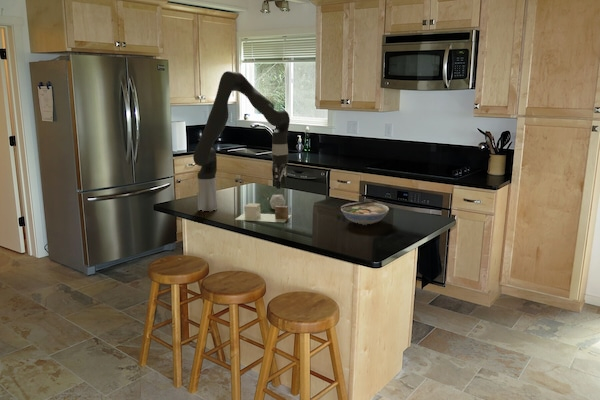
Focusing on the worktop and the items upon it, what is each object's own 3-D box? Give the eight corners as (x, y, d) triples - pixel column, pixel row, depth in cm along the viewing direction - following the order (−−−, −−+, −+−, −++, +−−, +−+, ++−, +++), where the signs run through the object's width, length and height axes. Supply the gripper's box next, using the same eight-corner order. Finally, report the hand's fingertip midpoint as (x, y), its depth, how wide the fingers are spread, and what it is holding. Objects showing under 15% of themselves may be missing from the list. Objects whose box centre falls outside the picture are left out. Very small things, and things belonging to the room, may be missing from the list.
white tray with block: (234, 220, 253) (234, 207, 251) (244, 213, 265) (243, 201, 264) (283, 223, 247) (283, 210, 245) (291, 216, 259) (291, 203, 257)
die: (279, 213, 268) (289, 197, 269) (265, 205, 268) (275, 189, 269) (280, 215, 276) (289, 199, 277) (266, 207, 276) (275, 191, 277)
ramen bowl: (358, 233, 230) (358, 215, 228) (328, 221, 249) (328, 205, 247) (400, 224, 243) (401, 207, 241) (369, 213, 262) (369, 198, 260)
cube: (245, 218, 255) (244, 206, 254) (249, 214, 261) (248, 203, 259) (256, 218, 254) (256, 206, 252) (260, 215, 259) (260, 203, 258)
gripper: (277, 150, 253) (278, 183, 257) (267, 155, 240) (269, 189, 244) (291, 151, 251) (292, 183, 255) (283, 155, 238) (284, 190, 242)
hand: (281, 186), depth 249 cm, fingers open, 8 cm apart
